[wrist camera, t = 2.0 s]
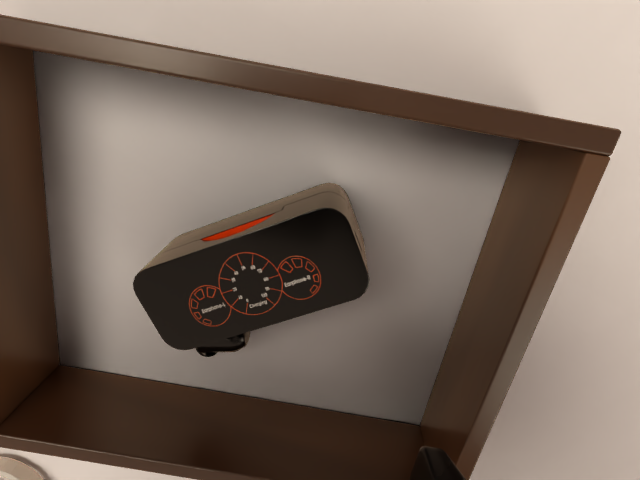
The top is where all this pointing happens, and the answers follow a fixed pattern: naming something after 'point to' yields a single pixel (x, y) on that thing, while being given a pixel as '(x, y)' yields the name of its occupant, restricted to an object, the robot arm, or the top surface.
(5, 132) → the desk tray
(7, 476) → the scissors
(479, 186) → the top surface
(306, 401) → the top surface
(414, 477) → the robot arm
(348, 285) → the black dial case
